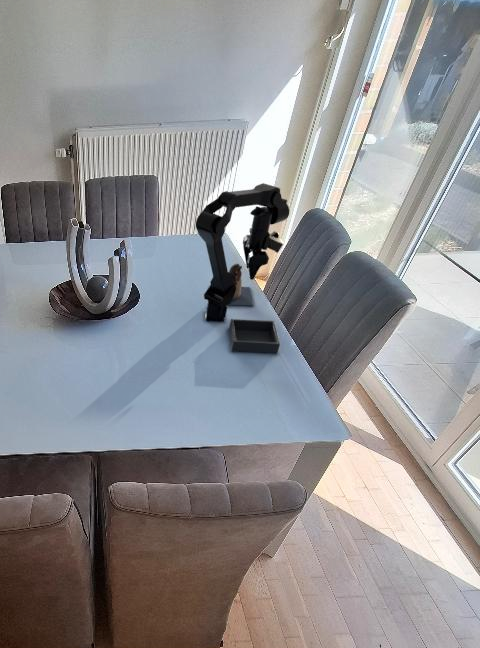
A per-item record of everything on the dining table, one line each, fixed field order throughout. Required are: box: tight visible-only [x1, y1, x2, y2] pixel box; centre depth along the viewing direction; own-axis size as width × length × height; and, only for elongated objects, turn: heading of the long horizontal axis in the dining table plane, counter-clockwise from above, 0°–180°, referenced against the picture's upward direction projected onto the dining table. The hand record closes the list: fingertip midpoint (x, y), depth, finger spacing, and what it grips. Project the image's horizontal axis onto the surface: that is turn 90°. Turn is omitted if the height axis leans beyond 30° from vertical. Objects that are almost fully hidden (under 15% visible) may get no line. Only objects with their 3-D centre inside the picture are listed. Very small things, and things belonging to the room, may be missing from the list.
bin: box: [228, 318, 281, 355], centre depth 154 cm, size 15×15×4 cm
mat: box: [215, 286, 254, 307], centre depth 178 cm, size 15×15×1 cm
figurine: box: [228, 263, 243, 299], centre depth 173 cm, size 7×7×12 cm
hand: (250, 273), depth 164 cm, fingers open, 9 cm apart
